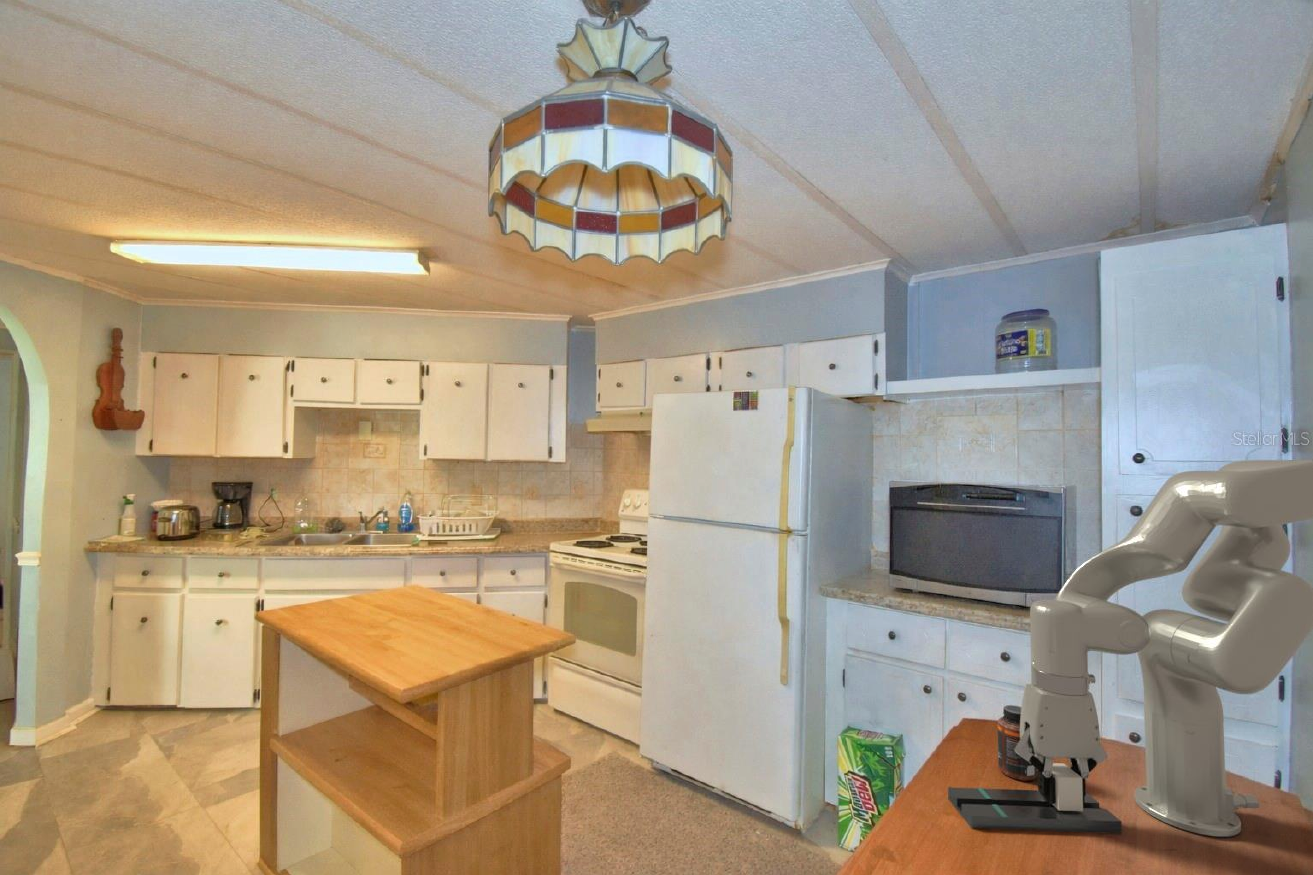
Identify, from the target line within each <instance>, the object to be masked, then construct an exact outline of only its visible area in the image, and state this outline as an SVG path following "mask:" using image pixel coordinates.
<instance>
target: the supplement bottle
mask: <svg viewBox="0 0 1313 875" xmlns="http://www.w3.org/2000/svg"><path fill="white" fill-rule="evenodd" d="M1002 715H1003V716H1001V717H999V719H998V720H997V755H998V756H997V762H998V770H999V771H1000V772H1001V773H1002V774H1004V775H1005V776H1007V777H1009V778H1012V779H1014V780H1018V781H1027V782H1029V781H1030V782H1031V781H1032V780H1035V779H1036V778H1037V777H1038V770H1037V769H1036V768H1035V767H1034V766H1033V765H1032V764H1031V763H1030V762H1029V761H1027V760H1025V759H1024V758H1022V757H1020V756H1019V755H1018V754H1017V753H1016V752H1015V750H1014V749H1015V747H1016V746H1017V744H1018V742H1019V741H1020V717H1021V706H1019V705H1011V704H1009V705H1004V706H1003V712H1002ZM1029 752H1030V753H1032V754H1033V755H1034V756H1035V752H1034V748H1033V746H1032V747H1031V748H1030V750H1029Z"/></svg>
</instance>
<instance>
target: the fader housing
mask: <svg viewBox="0 0 1313 875" xmlns="http://www.w3.org/2000/svg"><path fill="white" fill-rule="evenodd" d="M1084 797H1085V804H1084V805H1083V811H1062V810H1058V809H1057V808H1056V807H1054V805H1052V804H1050V803H1049V802H1048V801H1047V800H1046V799H1045V798H1044V797H1043V796H1042V795H1041V794H1040V792H1039V790H1036V789H1035V790H1034V789H1033V790H1032V789H1011V788H1007V789H1006V788H1005V789H1003V788H983V787H947V799H948V800H949V802H950V803H951V804H952V806H953V807H954V808H955V809H956V811H957V812H958V813H959V814H960V816H961V817H962V818H963V819H964V821H965V823H966V824H967V825H968V826H969V827H970V828H971V829H981V830H982V829H984V830H985V829H988V830H1010V831H1011V830H1012V831H1013V830H1015V831H1040V832H1063V833H1064V832H1068V833H1069V832H1070V833H1089V834H1090V833H1091V834H1092V833H1093V834H1094V833H1095V834H1097V833H1098V834H1122V832H1123V830H1122V826H1123V825H1122V824H1123V823H1122V821H1121V820H1120V819H1119V818H1118V817H1117V816H1116V815H1114V814H1113V813H1112V812H1111V811H1110V810H1108V809H1107V808H1100V803H1099V801H1097V800H1096V799H1095V798H1094V797H1092V795H1090V794H1089V793H1087V792H1086V795H1085V796H1084Z"/></svg>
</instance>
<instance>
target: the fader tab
mask: <svg viewBox="0 0 1313 875" xmlns="http://www.w3.org/2000/svg"><path fill="white" fill-rule="evenodd" d="M1051 776H1052V777H1053V778H1055V790H1056V803H1055V804H1052V805H1054V807H1056V808H1057V809H1058V810H1062V811H1083V789H1082V777H1080V776H1079V775H1078V774H1077V773H1075V772H1074V771H1073V770H1072V769H1071V767H1069V765H1066V764H1065V762H1064V763H1058V762H1057V763H1056V762H1055V763H1054V762H1053V767H1052V774H1051Z"/></svg>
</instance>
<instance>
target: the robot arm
mask: <svg viewBox="0 0 1313 875" xmlns="http://www.w3.org/2000/svg"><path fill="white" fill-rule="evenodd" d="M1310 520H1313V459H1279V460H1278V459H1273V460H1272V459H1263V460H1262V459H1255V460H1239V461H1238V460H1237V461H1233V462H1230V463H1227V464H1225V465H1223V466H1222V467H1220V468H1219V469H1218V470H1188V471H1182V472H1179V473H1176V474H1173V475H1172V476H1170V477H1169V478H1168V479H1167V480H1166V481H1165V482H1164V483H1163V485H1162V486H1161V487H1160V489H1159V491H1158V492H1156V495H1155V496H1154V497H1153V499H1152V500H1151V502H1150V503H1149V504H1148V506H1146V509H1145V510H1144V511H1143V513H1142V514H1141V515H1140V517H1139V519H1138V520H1137V521H1136V523H1135V524H1134V525H1133V527H1132V528H1131V530H1130V531H1129V533H1127V534H1126V536H1125V537H1124V538H1123V539H1122V540H1120V541H1119V542H1117V543H1114V544H1113V545H1111V546H1109V547H1107V548H1106V549H1104V550H1103V551H1100V552H1099V553H1097V554H1096V555H1094V556H1093V557H1090V558H1089V559H1088V560H1086V561H1084V563H1082V564H1081V565H1079V566H1078V567H1077V568H1076V569H1075V570H1074V571H1073V572H1072V573H1071V574H1070V576H1069V577H1068V578H1067V580H1066V581H1065V583H1064V584H1063V585H1062V587H1061V588H1060V589H1059V591H1058V593H1057V594H1056V596H1055V598H1054V599H1039V600H1035V601H1034V602H1032V603H1031V605H1030V608H1029V622H1030V623H1029V624H1030V625H1029V626H1030V630H1029V632H1030V672H1031V675H1030V677H1031V679H1030V680H1031V683H1027V684H1025V687H1024V692H1023V695H1022V700H1021V706H1020V707H1021V717H1020V741H1019V742H1018V744H1017V746H1016V747H1015V749H1014V750H1015V752H1016V753H1017V754H1018V755H1019V756H1020V757H1022V758H1024V759H1025V760H1027V761H1029V762H1030V763H1031V764H1032V765H1033V766H1034V767H1035V768H1036V769H1037V789H1038V790H1039V792H1040V794H1041V795H1042V796H1043V797H1044V798H1045V799H1046V800H1047V801H1048V802H1049V803H1050V804H1055V803H1056V790H1055V778H1053V777H1052V776H1051V774H1052V767H1053V763H1054V760H1055V759H1068V760H1069V761H1068V762H1069V766H1070V767H1069V768H1070V769H1072V770H1073V771H1074V772H1075V773H1077V774H1078V775H1079V776H1080V777H1082V789H1083V805H1084V804H1085V797H1084V796H1085V795H1086V793H1087V792H1086V790H1087V789H1086V780H1087V779H1089V778H1090V775H1091V774H1090V772H1092V771H1093V770H1094V769H1095V768H1096V767H1097V765H1098V764H1100V763H1103V761H1106V760H1108V758H1109V755H1108V753H1107V752H1106V750H1105V749H1104V747H1103V745H1102V744H1101V734H1100V725H1099V723H1100V722H1099V717H1098V712H1097V707H1096V703H1095V700H1094V697H1093V693H1092V692H1090V691H1089V690H1090V685H1091V684H1095V683H1096V676H1095V675H1094V674H1091V673H1089V660H1088V659H1089V657H1088V656H1089V655H1088V653H1089V652H1098V653H1105V654H1110V655H1118V656H1119V655H1120V656H1121V655H1122V656H1126V655H1127V656H1128V655H1132V654H1133V655H1134V654H1136V653H1137V657H1138V661H1139V664H1140V668H1141V676H1142V683H1143V684H1142V685H1143V699H1144V700H1143V703H1144V704H1143V709H1144V710H1143V712H1144V714H1143V715H1144V716H1143V717H1144V744H1145V745H1144V747H1145V753H1144V754H1145V781H1146V784H1145V785H1142V786H1138V787H1137V788H1136V789H1135V790H1134V800H1135V802H1136V804H1137V805H1138V806H1139V808H1141V809H1142V810H1144V812H1146V813H1147V814H1149V815H1150V816H1152V817H1154V818H1156V819H1157V820H1160V821H1161V822H1163V823H1166V824H1168V825H1170V826H1173V827H1175V828H1178V829H1181V830H1185V831H1188V832H1189V833H1190V832H1191V833H1195V834H1199V835H1204V836H1209V837H1217V838H1223V837H1224V838H1225V837H1228V838H1229V837H1234V836H1236V835H1239V834H1240V833H1241V832H1242V822H1241V819H1240V818H1239V817H1238V815H1237V814H1235V811H1237V810H1239V809H1240V808H1243V809H1259V808H1260V802H1259V799H1258V798H1257V797H1256V796H1255V795H1254V794H1251V793H1250V794H1249V793H1235V791H1234V790H1233V789H1232V787H1228V786H1227V785H1226V783H1227V782H1226V762H1225V761H1226V758H1225V756H1226V755H1225V731H1224V730H1225V728H1224V727H1225V726H1224V722H1225V721H1224V708H1223V707H1224V706H1223V702H1222V699H1221V697H1220V694H1219V690H1217V688H1218V689H1220V690H1223V691H1226V692H1228V693H1233V694H1237V695H1254V694H1256V693H1258V692H1260V691H1263V690H1264V689H1265V688H1267V687H1268V686H1270V685H1271V684H1272V683H1273V682H1274V681H1275V679H1276V678H1277V677H1278V675H1280V673H1281V672H1282V671H1283V669H1284V668H1285V667H1286V666H1287V665H1288V663H1289V661H1290V660H1291V659H1292V658H1293V656H1294V655H1295V654H1296V653H1297V651H1298V650H1299V648H1300V647H1301V646H1302V644H1303V643H1304V641H1306V639H1307V638H1308V637H1309V635H1310V633H1311V632H1312V630H1313V587H1312V586H1311V585H1310V584H1309V582H1307V581H1306V580H1305V579H1304V578H1302V577H1300V576H1298V575H1296V574H1294V573H1291V572H1288V571H1285V570H1282V569H1283V568H1284V566H1285V564H1286V563H1287V562H1288V560H1289V557H1290V555H1291V543H1290V540H1289V538H1288V535H1287V533H1286V531H1285V529H1284V527H1283V525H1287V524H1288V525H1289V524H1293V523H1298V522H1299V523H1300V522H1305V521H1310ZM1218 526H1221V529H1220V530H1219V534H1218V536H1216V538H1215V540H1214V542H1213V543H1212V544H1211V546H1210V547H1209V548H1208V549H1207V550H1206V552H1205V553H1204V555H1203V556H1202V557H1201V558H1200V560H1199V561H1198V562H1197V563H1196V564H1195V566H1194V567H1193V569H1191V571H1190V573H1188V575H1187V577H1186V578H1185V580H1184V582H1183V585H1182V586H1181V587H1182V588H1181V595H1182V598H1183V600H1184V602H1185V604H1187V605H1188V607H1189V608H1191V609H1192V610H1194V611H1196V612H1198V613H1199V614H1201V615H1204V616H1206V617H1204V616H1200V615H1196V614H1193V613H1190V612H1189V613H1188V612H1185V611H1182V610H1181V611H1180V610H1175V609H1170V608H1169V609H1166V608H1163V609H1162V608H1161V609H1159V608H1158V609H1155V610H1151V611H1148V612H1146V613H1144V614H1143V615H1141V614H1140V613H1138V612H1137V611H1135V610H1133V609H1132V608H1129V607H1127V606H1125V605H1121V604H1117V603H1114V602H1111V601H1108V600H1109V599H1110V598H1111V597H1112V596H1114V594H1115V593H1117V592H1118V591H1119V590H1121V589H1122V588H1125V587H1127V586H1130V585H1131V584H1134V583H1137V582H1141V581H1146V580H1151V579H1152V580H1153V579H1158V578H1161V577H1167V576H1171V575H1174V574H1178V573H1181V572H1182V571H1184V570H1186V569H1187V568H1188V566H1189V565H1190V564H1191V562H1192V560H1194V558H1195V556H1196V555H1197V553H1198V552H1199V550H1200V549H1201V548H1202V546H1203V544H1204V543H1205V541H1206V540H1207V539H1208V538H1209V536H1210V535H1211V534H1212V532H1213V530H1214V529H1215V528H1216V527H1218ZM1208 617H1209V618H1208ZM1210 618H1213V619H1214V620H1213V619H1210ZM1218 620H1219V621H1218ZM1221 621H1222V622H1221ZM1032 746H1033V748H1034V752H1035V756H1034V755H1033V754H1032V753H1030V752H1029V750H1030V748H1031V747H1032ZM1054 758H1055V759H1054ZM1226 786H1227V787H1226Z"/></svg>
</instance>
